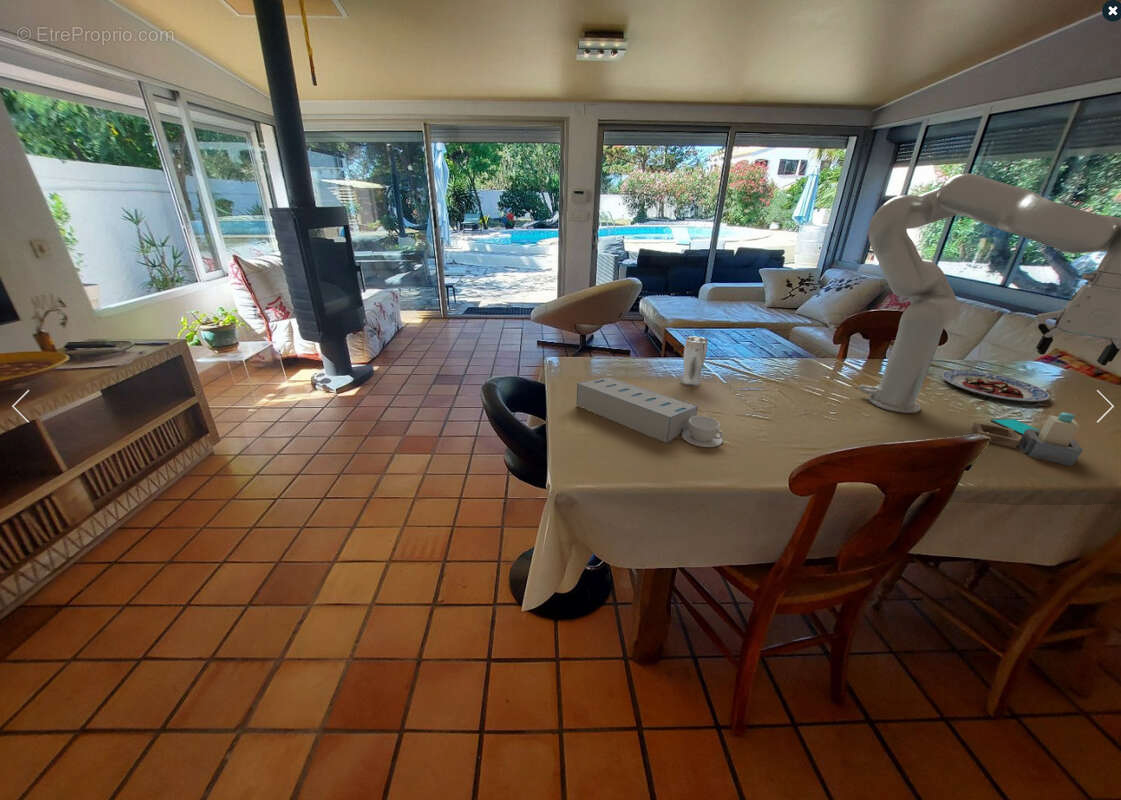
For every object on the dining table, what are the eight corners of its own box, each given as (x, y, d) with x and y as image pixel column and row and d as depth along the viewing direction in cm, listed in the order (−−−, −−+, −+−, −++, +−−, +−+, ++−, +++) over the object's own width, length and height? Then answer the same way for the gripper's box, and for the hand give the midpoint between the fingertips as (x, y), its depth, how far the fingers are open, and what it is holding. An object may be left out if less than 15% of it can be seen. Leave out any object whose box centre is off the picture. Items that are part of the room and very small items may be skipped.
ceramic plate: (1067, 413, 124) (1072, 403, 122) (958, 398, 132) (962, 389, 131) (1019, 382, 145) (1023, 374, 144) (928, 371, 154) (931, 364, 153)
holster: (975, 438, 108) (978, 431, 107) (971, 427, 114) (974, 421, 113) (1015, 448, 104) (1019, 440, 103) (1009, 436, 110) (1013, 429, 109)
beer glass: (703, 381, 141) (711, 338, 135) (697, 388, 136) (705, 343, 130) (683, 377, 145) (689, 335, 138) (676, 383, 139) (683, 340, 133)
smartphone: (1052, 447, 104) (990, 419, 117) (1050, 450, 104) (988, 422, 118) (1078, 446, 104) (1013, 418, 118) (1076, 449, 105) (1012, 421, 118)
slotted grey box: (694, 425, 114) (698, 400, 110) (666, 444, 104) (670, 417, 101) (606, 393, 132) (608, 371, 129) (576, 407, 123) (577, 383, 120)
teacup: (674, 438, 106) (676, 422, 104) (692, 425, 113) (695, 409, 111) (711, 453, 100) (714, 436, 98) (729, 438, 107) (732, 422, 105)
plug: (1036, 454, 101) (1058, 415, 97) (1031, 447, 104) (1052, 409, 100) (1059, 459, 99) (1083, 420, 95) (1054, 452, 102) (1077, 413, 98)
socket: (1024, 455, 101) (1032, 440, 99) (1016, 441, 107) (1024, 427, 106) (1076, 467, 96) (1085, 452, 95) (1065, 451, 103) (1073, 437, 101)
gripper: (1063, 278, 90) (1021, 353, 98) (1190, 291, 81) (1133, 373, 89) (1055, 274, 96) (1015, 345, 104) (1173, 286, 87) (1120, 363, 94)
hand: (1069, 358), depth 96 cm, fingers open, 9 cm apart
